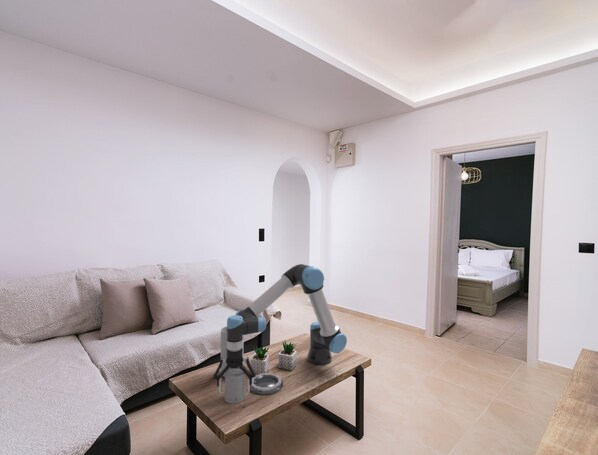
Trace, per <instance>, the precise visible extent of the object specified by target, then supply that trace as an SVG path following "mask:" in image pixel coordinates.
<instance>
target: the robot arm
mask: <svg viewBox="0 0 598 455" xmlns="http://www.w3.org/2000/svg"><path fill="white" fill-rule="evenodd" d="M280 277H281V278H279V279H278V280H277V281H276V282H275V283H274V284H272V286H270V287H269V288H268V289H267V290H266V291H264V293H262V294H260V296H259V297H257V298H256V299H255V300H254V301H253V302H252V303H250V304H249V305H248V306H247V307H245V308H244V309H239V310H238V311H236V313H235V315H230V316H228V317H227V320H226V327H227V359H223V358H221V357H220V359H219V365H218V366H217V368H216V370H215V371H214V374H213V376H212V379H213V380H216V387H218V394H219V395H221V393H222V379H223V378H222V377H223V374H224V373H225V372H226V371H227V370H228V369H229V368H231V369H233V368H240V369H241V370H242V371H243V372H244V375H246V376H247V393H248V394H249V393H250V385H252V378H253V377H255V376H256V375H257V374H256V372H255V370H254V367H253V366H252V363H251V362H250V357H249V356H247V357H246V358H245V357H244V336H246V335H252V334H260V333H262V332H264V331H266V329H267V321H266V319H265V316H260V315H261V314H262V313H263V312H264V311H265V310H267V309H268V308H269V307H270V306H271V305H272V304H274V302H276V301H277V300H279V298H280V297H281V296H283V295H284V294H285V293H286V292H287V291H289V289H293V288H294V287H296V286H298V285H299V286H301V288H302V291H303V293H304V294H305V295H307V296H308V299H309V301H310V304H311V307H312V309H313V312H314V315H315V317H316V320H317V321H315V322H312V323H311V324H310V326H309V327H310V328H309V331H310V332H309V334H310V336H309V340H310V341H309V349H308V353H307V361H308V362H309V363H310V364H313V365H320V366H322V365H323V366H324V365H327V364H330V363H331V362H332V359H333V358H332V357H333V356H332V353H334V354H340V353H341V352H343V351H344V349H345V348H346V345H347V343H348V339H347V336H346V334H344V333H343V332H342V331H341V329H340V327H339V325H338V324H337V323H335V321H334V318H333V315H332V312H331V310H330V307H329V304H328V302H327V299H326V296H325V293H324V290H323V288H324V284H325V283H324V281H325V276H324V273H323V271H322V270H321V269H319V268H318V267H316V266H313V265H312V266H311V265H307V264H304V263H303V264H302V263H298V264H296V265H294V266H291V267H290V268H289V269H287V270H286V271H285V272H284V273H283V274H282V275H281V276H280ZM242 347H243V349H242ZM224 362H226V363H227V365H226V367H225V368H224V369H223V370H222V371H221V366H222V364H224ZM242 363H243V364H242ZM244 363H245V364H246V365H247V367H245V365H244ZM247 368H248V369H247ZM219 372H220V373H219Z"/></svg>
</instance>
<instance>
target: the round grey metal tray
mask: <svg viewBox="0 0 598 455" xmlns="http://www.w3.org/2000/svg"><path fill="white" fill-rule="evenodd" d="M283 387H284V381H283V380H282V377H280V376H279V375H278V374H274V373H270V372H268V373H267V372H266V373H259V374H256V376H255V377H253V378H252V385H250V390H249V392H251V393H253V394H256V395H258V396H259V395H261V396H268V395H273V394H277V393H278V392H280V391H282V388H283Z"/></svg>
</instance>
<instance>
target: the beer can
mask: <svg viewBox="0 0 598 455" xmlns="http://www.w3.org/2000/svg"><path fill="white" fill-rule="evenodd" d="M245 396H246V394H245V373H244V372H243V371H242V370H241V369H240V368H233V369H229V370H227V371H226V372H225V377H224V401H225V402H227V403H229V404H237V403H240V402H242V401H244V399H245Z"/></svg>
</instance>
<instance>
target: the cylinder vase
mask: <svg viewBox="0 0 598 455" xmlns="http://www.w3.org/2000/svg"><path fill="white" fill-rule="evenodd" d="M242 349H243V350H244V346H243V347H242ZM221 358H223V359H227V326H224V327H221V329H220V359H221ZM242 364H243V365H244V362H243V363H242ZM226 365H227V363H226V362H224V364H222V366H221V368H220V372H221V371H222V370H223V369H224V368H225V367H226ZM229 369H231V368H229ZM229 369H228V370H229ZM222 377H224V378H225V373H224V374H223V376H222Z"/></svg>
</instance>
